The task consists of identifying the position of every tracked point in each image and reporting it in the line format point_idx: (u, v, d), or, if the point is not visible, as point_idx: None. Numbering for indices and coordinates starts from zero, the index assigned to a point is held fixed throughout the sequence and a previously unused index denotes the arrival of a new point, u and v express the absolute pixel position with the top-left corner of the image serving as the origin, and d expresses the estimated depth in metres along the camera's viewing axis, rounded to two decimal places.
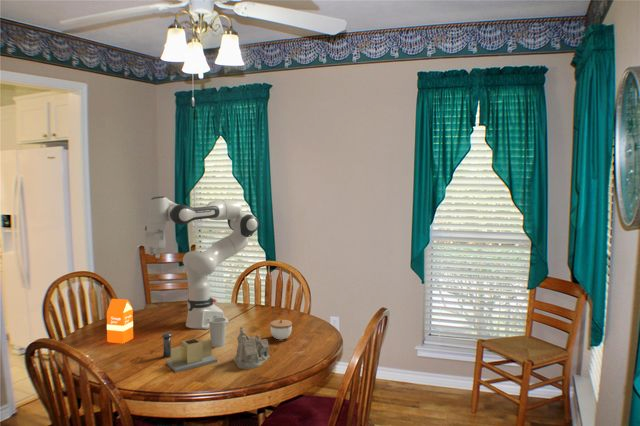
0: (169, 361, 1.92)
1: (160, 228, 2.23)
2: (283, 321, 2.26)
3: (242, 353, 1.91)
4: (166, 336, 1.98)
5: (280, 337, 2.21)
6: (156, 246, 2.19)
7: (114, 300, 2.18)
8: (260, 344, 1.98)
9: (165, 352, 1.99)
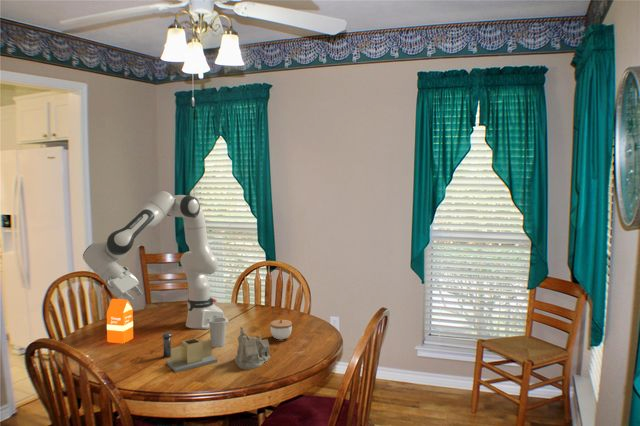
0: (169, 361, 1.92)
1: (110, 275, 1.92)
2: (283, 321, 2.26)
3: (243, 353, 1.90)
4: (166, 336, 1.98)
5: (280, 337, 2.21)
6: None
7: (114, 300, 2.18)
8: (261, 344, 1.98)
9: (165, 352, 1.99)
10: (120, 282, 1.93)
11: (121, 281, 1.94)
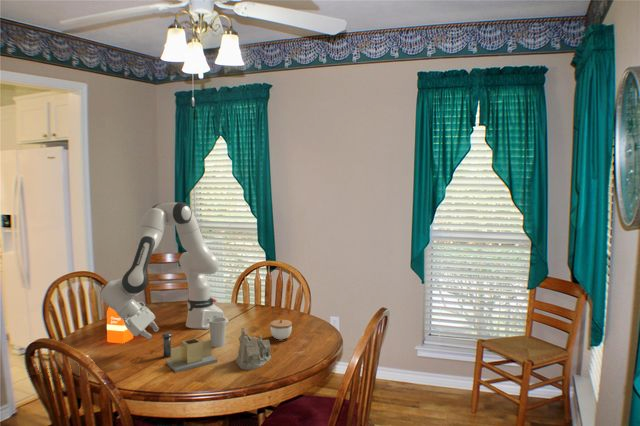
0: (169, 361, 1.92)
1: (127, 313, 1.94)
2: (283, 321, 2.26)
3: (244, 354, 1.90)
4: (166, 336, 1.98)
5: (280, 337, 2.21)
6: None
7: None
8: (262, 345, 1.97)
9: (165, 352, 1.99)
10: (137, 319, 1.94)
11: (138, 318, 1.96)
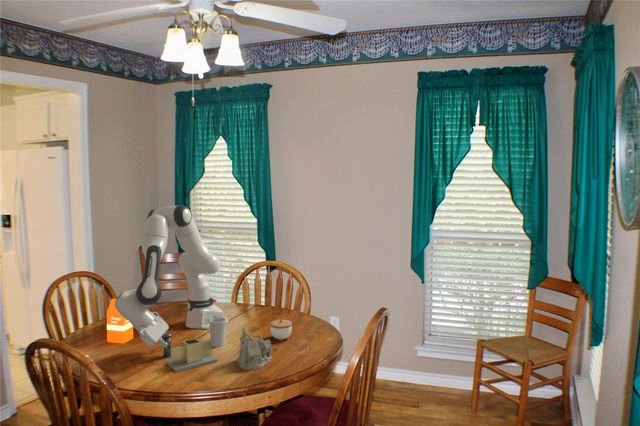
0: (169, 361, 1.92)
1: (142, 324, 1.94)
2: (283, 321, 2.26)
3: (245, 354, 1.90)
4: (166, 336, 1.98)
5: (280, 337, 2.21)
6: None
7: (114, 300, 2.18)
8: (263, 345, 1.97)
9: (165, 352, 1.99)
10: (152, 330, 1.95)
11: (153, 329, 1.96)
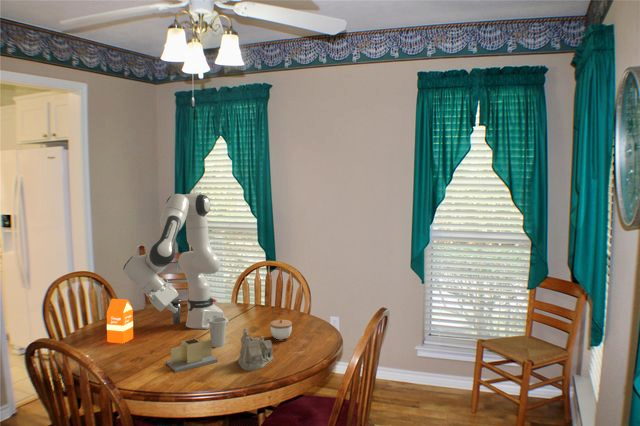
0: (169, 361, 1.92)
1: (151, 288, 1.90)
2: (283, 321, 2.26)
3: (246, 354, 1.89)
4: (176, 302, 1.93)
5: (280, 337, 2.21)
6: None
7: (114, 300, 2.18)
8: (264, 345, 1.97)
9: (174, 318, 1.94)
10: (161, 295, 1.91)
11: (162, 294, 1.92)
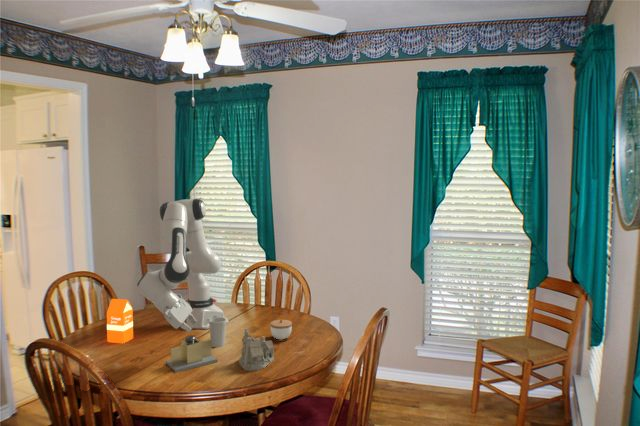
0: (169, 361, 1.92)
1: (166, 305, 1.87)
2: (283, 321, 2.26)
3: (248, 355, 1.89)
4: (190, 340, 1.90)
5: (280, 337, 2.21)
6: None
7: (114, 300, 2.18)
8: (265, 345, 1.96)
9: None
10: (177, 311, 1.88)
11: (177, 310, 1.89)
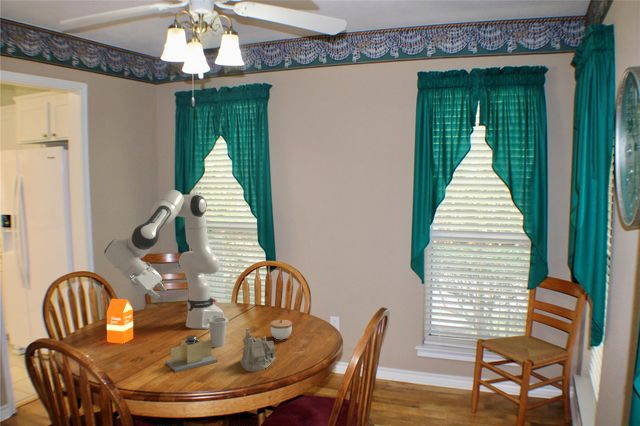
0: (169, 361, 1.92)
1: (133, 272, 1.85)
2: (283, 321, 2.26)
3: (249, 355, 1.88)
4: (191, 339, 1.91)
5: (280, 337, 2.21)
6: None
7: (114, 300, 2.18)
8: (266, 346, 1.96)
9: None
10: (144, 279, 1.86)
11: (145, 278, 1.87)
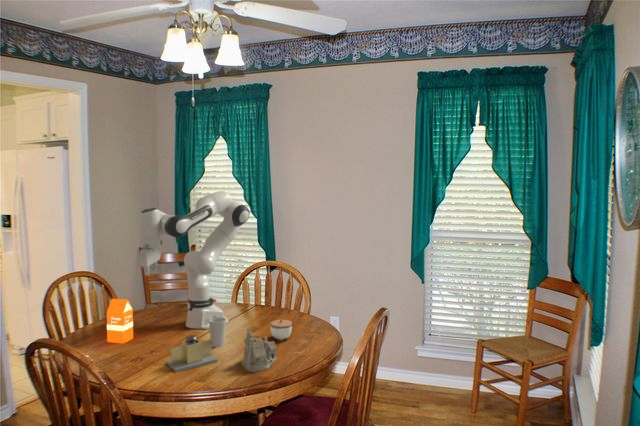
0: (169, 361, 1.92)
1: (148, 243, 2.06)
2: (283, 321, 2.26)
3: (250, 356, 1.88)
4: (191, 339, 1.91)
5: (280, 337, 2.21)
6: None
7: (114, 300, 2.18)
8: (268, 346, 1.96)
9: None
10: (150, 254, 2.07)
11: (151, 253, 2.08)
